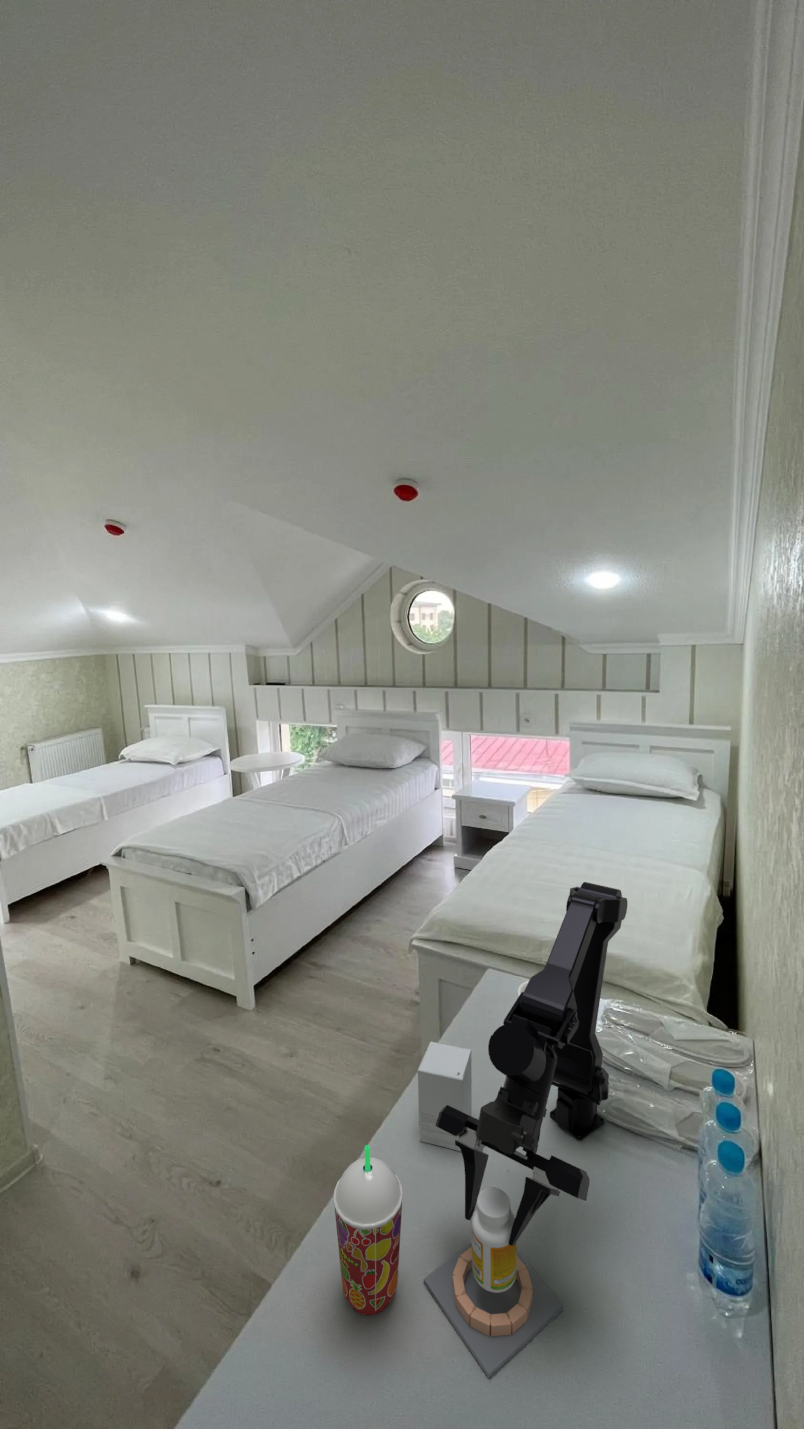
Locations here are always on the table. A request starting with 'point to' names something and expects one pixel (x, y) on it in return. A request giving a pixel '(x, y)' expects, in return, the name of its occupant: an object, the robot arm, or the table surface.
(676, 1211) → the table surface
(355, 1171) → the smoothie
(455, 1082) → the supplement box
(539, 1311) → the ring seat
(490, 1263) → the supplement bottle
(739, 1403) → the table surface
